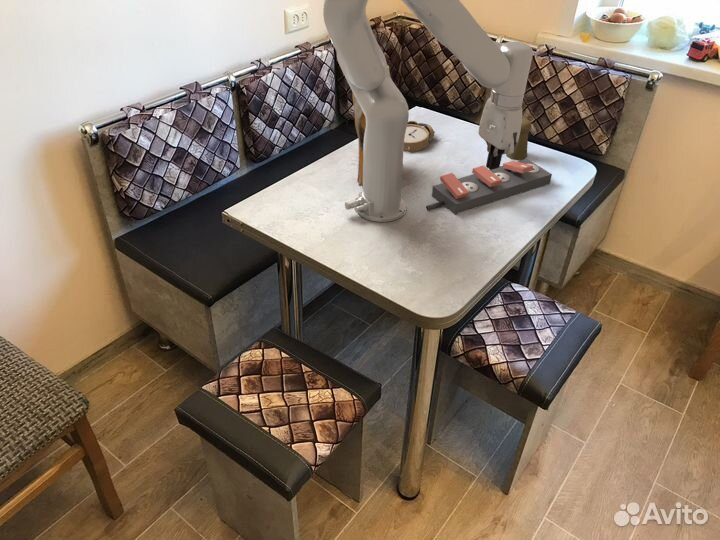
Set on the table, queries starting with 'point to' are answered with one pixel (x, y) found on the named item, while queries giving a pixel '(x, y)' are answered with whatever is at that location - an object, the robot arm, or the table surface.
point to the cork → (521, 142)
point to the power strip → (490, 188)
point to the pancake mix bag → (360, 132)
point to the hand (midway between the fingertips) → (492, 167)
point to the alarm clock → (417, 136)
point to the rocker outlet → (517, 167)
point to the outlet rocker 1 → (454, 185)
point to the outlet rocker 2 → (486, 176)
